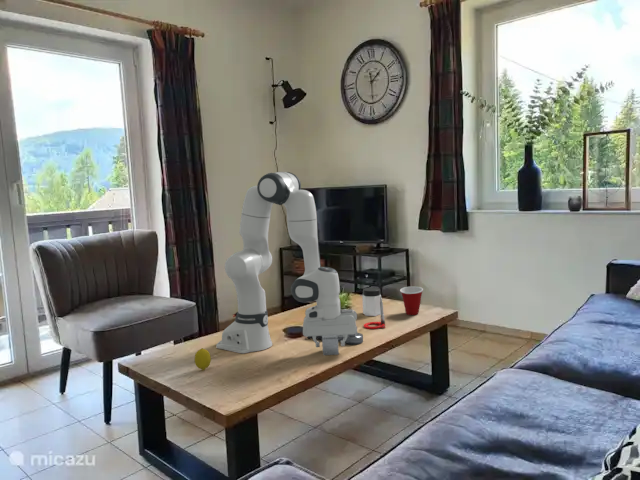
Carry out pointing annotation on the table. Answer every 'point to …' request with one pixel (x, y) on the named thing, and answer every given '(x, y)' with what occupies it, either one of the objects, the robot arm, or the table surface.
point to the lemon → (202, 359)
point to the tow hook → (380, 324)
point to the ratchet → (351, 338)
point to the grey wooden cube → (330, 345)
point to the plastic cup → (411, 299)
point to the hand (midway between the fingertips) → (330, 346)
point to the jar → (371, 301)
